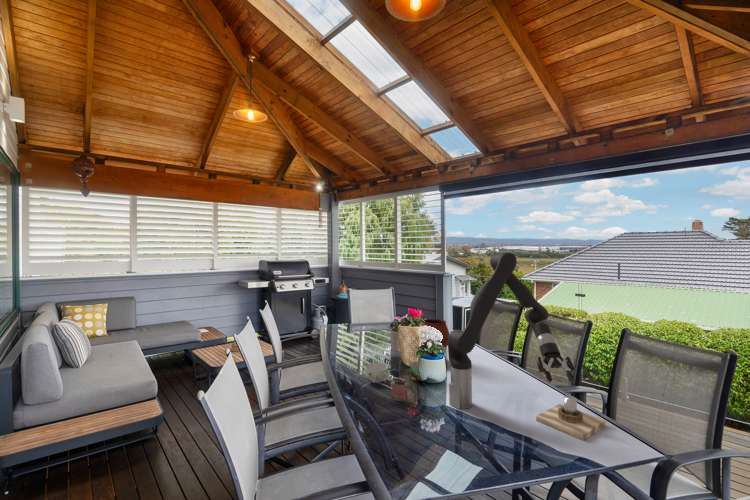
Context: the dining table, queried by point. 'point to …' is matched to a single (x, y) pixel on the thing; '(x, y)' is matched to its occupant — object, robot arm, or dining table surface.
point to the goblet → (439, 328)
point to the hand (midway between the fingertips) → (561, 381)
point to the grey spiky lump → (376, 372)
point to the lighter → (399, 389)
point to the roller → (570, 405)
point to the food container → (415, 371)
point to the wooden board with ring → (571, 422)
